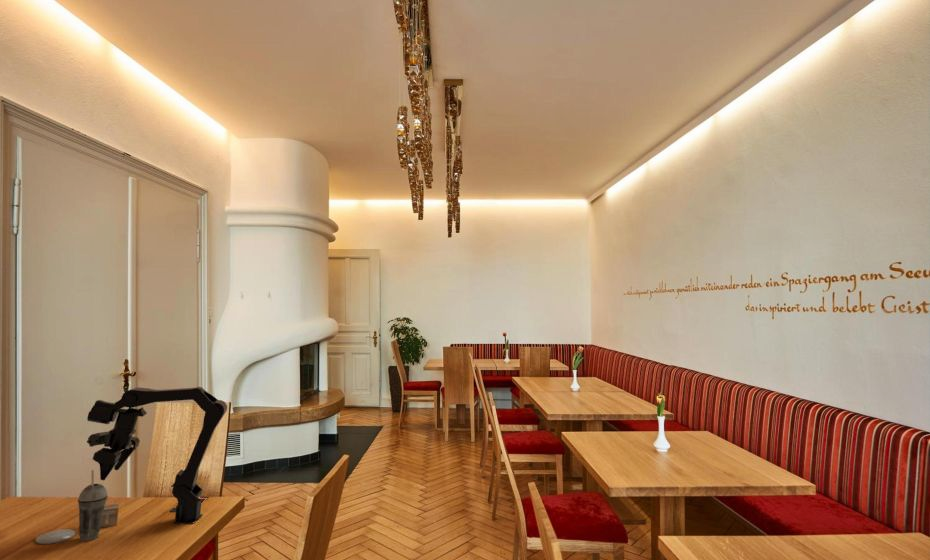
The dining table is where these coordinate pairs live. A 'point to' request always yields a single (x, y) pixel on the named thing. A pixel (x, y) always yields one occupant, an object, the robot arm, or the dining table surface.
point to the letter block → (110, 514)
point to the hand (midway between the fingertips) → (109, 474)
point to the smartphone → (177, 505)
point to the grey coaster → (55, 536)
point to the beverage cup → (91, 510)
